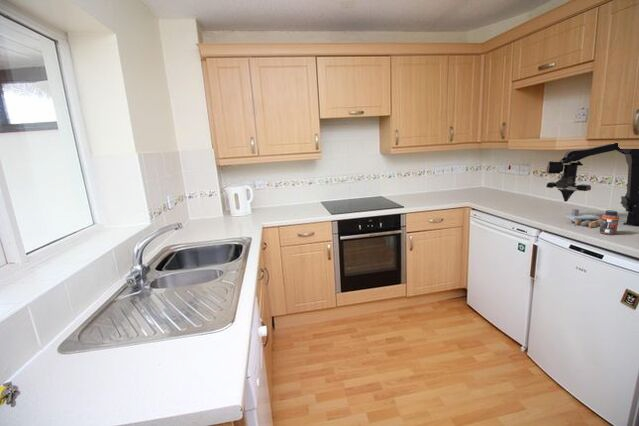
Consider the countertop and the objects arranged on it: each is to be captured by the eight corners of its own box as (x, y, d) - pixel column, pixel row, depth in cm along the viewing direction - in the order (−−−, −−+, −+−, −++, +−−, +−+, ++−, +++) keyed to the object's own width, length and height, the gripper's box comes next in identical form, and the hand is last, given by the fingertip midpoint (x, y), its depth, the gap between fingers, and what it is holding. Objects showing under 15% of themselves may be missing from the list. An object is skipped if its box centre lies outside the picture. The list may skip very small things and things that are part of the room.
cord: (586, 224, 162) (587, 219, 162) (593, 225, 160) (593, 220, 159) (579, 226, 159) (579, 221, 159) (585, 227, 157) (586, 221, 156)
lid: (592, 216, 166) (593, 208, 165) (601, 218, 159) (603, 210, 158) (565, 216, 167) (566, 208, 166) (574, 219, 160) (575, 211, 159)
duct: (586, 221, 166) (587, 216, 166) (602, 224, 160) (603, 219, 160) (574, 225, 161) (575, 220, 160) (590, 228, 155) (591, 222, 154)
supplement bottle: (610, 235, 142) (614, 212, 139) (596, 232, 147) (599, 210, 145) (619, 234, 143) (623, 211, 141) (604, 231, 149) (608, 209, 146)
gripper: (542, 173, 169) (539, 200, 173) (583, 176, 153) (578, 205, 157) (553, 172, 174) (550, 198, 178) (593, 174, 158) (588, 203, 161)
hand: (565, 201), depth 168 cm, fingers closed
